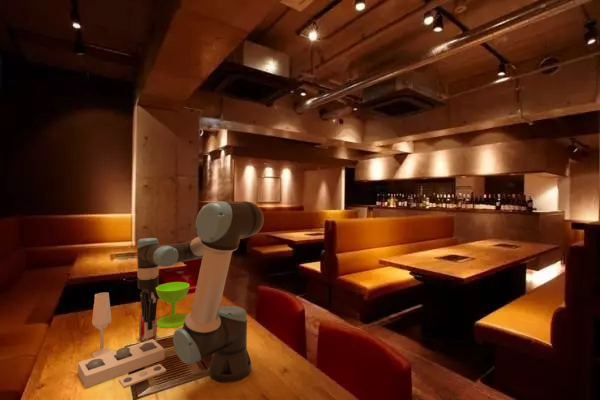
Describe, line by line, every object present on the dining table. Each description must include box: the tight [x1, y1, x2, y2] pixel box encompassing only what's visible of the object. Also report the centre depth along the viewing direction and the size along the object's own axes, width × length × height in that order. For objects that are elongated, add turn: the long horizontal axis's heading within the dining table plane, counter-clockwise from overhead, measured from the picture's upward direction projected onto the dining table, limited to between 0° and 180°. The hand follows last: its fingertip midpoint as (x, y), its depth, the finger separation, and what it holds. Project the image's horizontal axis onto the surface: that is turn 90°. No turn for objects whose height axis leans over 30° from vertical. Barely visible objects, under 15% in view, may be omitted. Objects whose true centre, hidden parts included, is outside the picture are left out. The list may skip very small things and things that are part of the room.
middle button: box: [115, 346, 130, 361], centre depth 117 cm, size 4×4×4 cm
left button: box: [88, 359, 103, 370], centre depth 111 cm, size 4×4×4 cm
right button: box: [142, 342, 154, 352], centre depth 124 cm, size 4×4×4 cm
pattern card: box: [118, 363, 167, 389], centre depth 111 cm, size 6×14×1 cm, turn 136°
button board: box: [77, 339, 166, 389], centre depth 117 cm, size 12×26×4 cm, turn 136°
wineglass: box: [155, 281, 190, 329], centre depth 159 cm, size 16×16×18 cm
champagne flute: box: [91, 292, 112, 358], centre depth 127 cm, size 7×7×24 cm
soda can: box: [138, 311, 158, 342], centre depth 140 cm, size 7×7×12 cm
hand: (148, 336), depth 123 cm, fingers closed
